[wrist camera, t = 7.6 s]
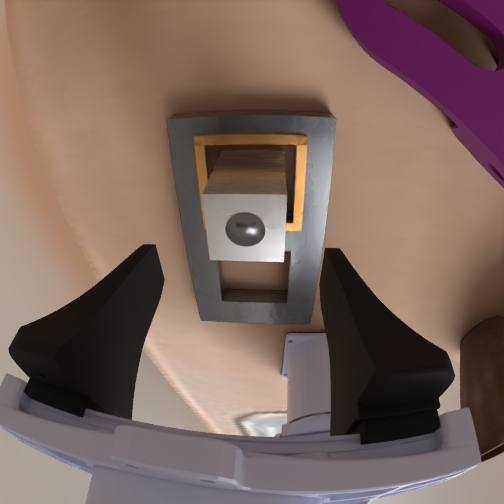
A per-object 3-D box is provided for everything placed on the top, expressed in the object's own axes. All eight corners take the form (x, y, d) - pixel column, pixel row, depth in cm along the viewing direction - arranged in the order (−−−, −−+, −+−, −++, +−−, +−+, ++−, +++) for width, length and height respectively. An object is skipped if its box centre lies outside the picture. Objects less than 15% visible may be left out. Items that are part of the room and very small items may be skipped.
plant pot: (541, 289, 25) (591, 388, 12) (496, 357, 34) (524, 443, 21) (462, 301, 27) (512, 434, 14) (421, 373, 36) (442, 477, 23)
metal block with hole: (282, 203, 22) (283, 262, 16) (226, 202, 22) (209, 260, 17) (283, 150, 19) (287, 195, 14) (222, 150, 19) (201, 194, 14)
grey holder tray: (309, 311, 28) (310, 325, 27) (203, 308, 29) (200, 322, 28) (331, 113, 17) (336, 118, 16) (173, 114, 18) (165, 120, 17)
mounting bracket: (335, 49, 19) (509, 198, 17) (304, 15, 12) (552, 232, 10) (391, -28, 14) (563, 118, 12) (380, -83, 7) (617, 122, 5)
